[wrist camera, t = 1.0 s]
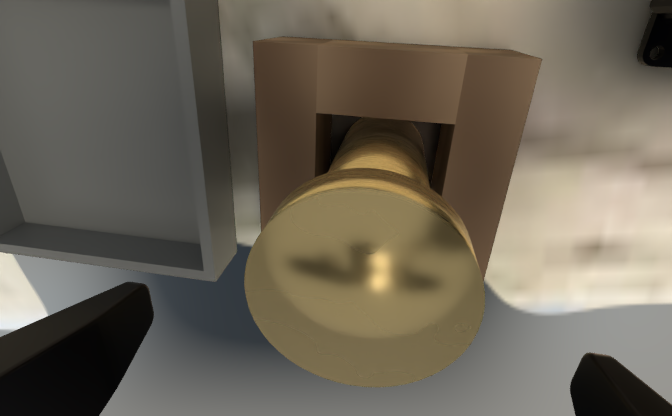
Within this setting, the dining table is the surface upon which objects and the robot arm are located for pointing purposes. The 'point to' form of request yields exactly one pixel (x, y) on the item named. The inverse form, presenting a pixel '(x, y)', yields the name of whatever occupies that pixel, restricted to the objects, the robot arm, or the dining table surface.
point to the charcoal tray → (115, 135)
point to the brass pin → (367, 267)
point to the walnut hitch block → (395, 115)
